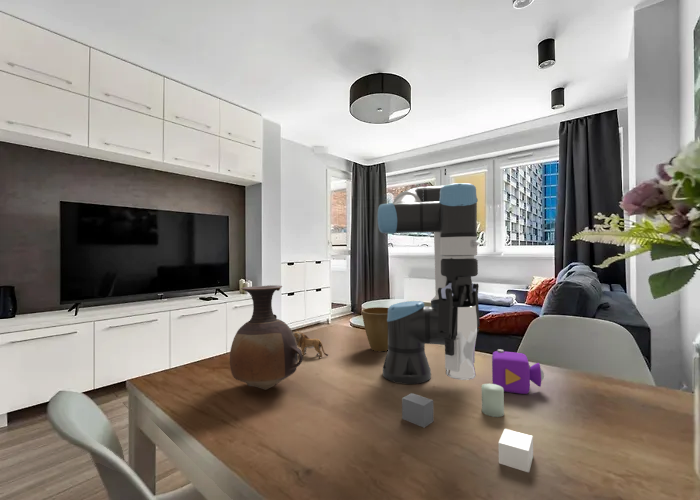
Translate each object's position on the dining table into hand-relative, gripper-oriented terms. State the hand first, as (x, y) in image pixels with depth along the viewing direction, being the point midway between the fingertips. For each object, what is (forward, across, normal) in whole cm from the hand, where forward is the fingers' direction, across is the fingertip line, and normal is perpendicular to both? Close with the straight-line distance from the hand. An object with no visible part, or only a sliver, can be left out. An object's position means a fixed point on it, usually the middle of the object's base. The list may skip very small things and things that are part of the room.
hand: (460, 365), depth 73 cm
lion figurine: (+16, +14, +70) cm, 73 cm away
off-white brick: (+15, 0, -11) cm, 19 cm away
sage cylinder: (+15, +16, 0) cm, 22 cm away
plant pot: (+16, +39, +55) cm, 69 cm away
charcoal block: (+15, 0, +11) cm, 19 cm away
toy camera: (+16, +35, +1) cm, 38 cm away
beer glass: (+2, 0, 0) cm, 2 cm away
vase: (+16, -15, +54) cm, 58 cm away
